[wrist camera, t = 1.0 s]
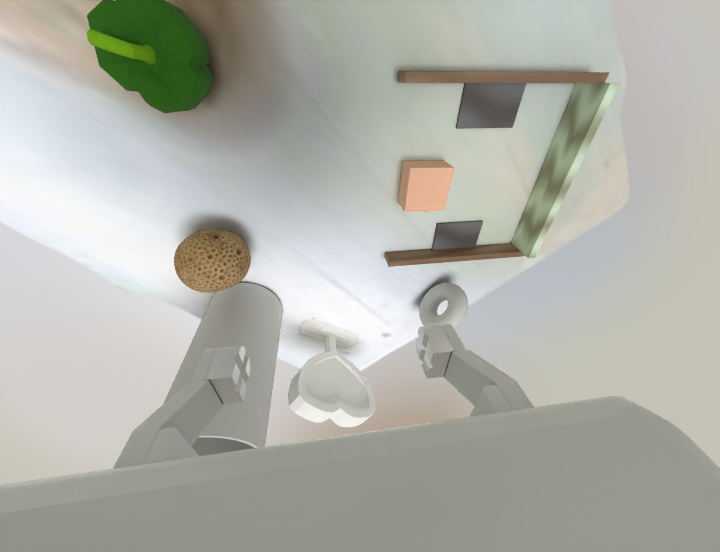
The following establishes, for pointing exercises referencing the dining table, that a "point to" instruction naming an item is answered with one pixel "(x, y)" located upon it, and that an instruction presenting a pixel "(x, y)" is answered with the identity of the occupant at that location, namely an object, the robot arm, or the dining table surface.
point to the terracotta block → (424, 185)
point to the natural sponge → (212, 260)
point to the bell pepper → (152, 52)
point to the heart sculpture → (331, 381)
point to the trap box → (498, 110)
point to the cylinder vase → (260, 339)
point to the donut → (454, 310)
